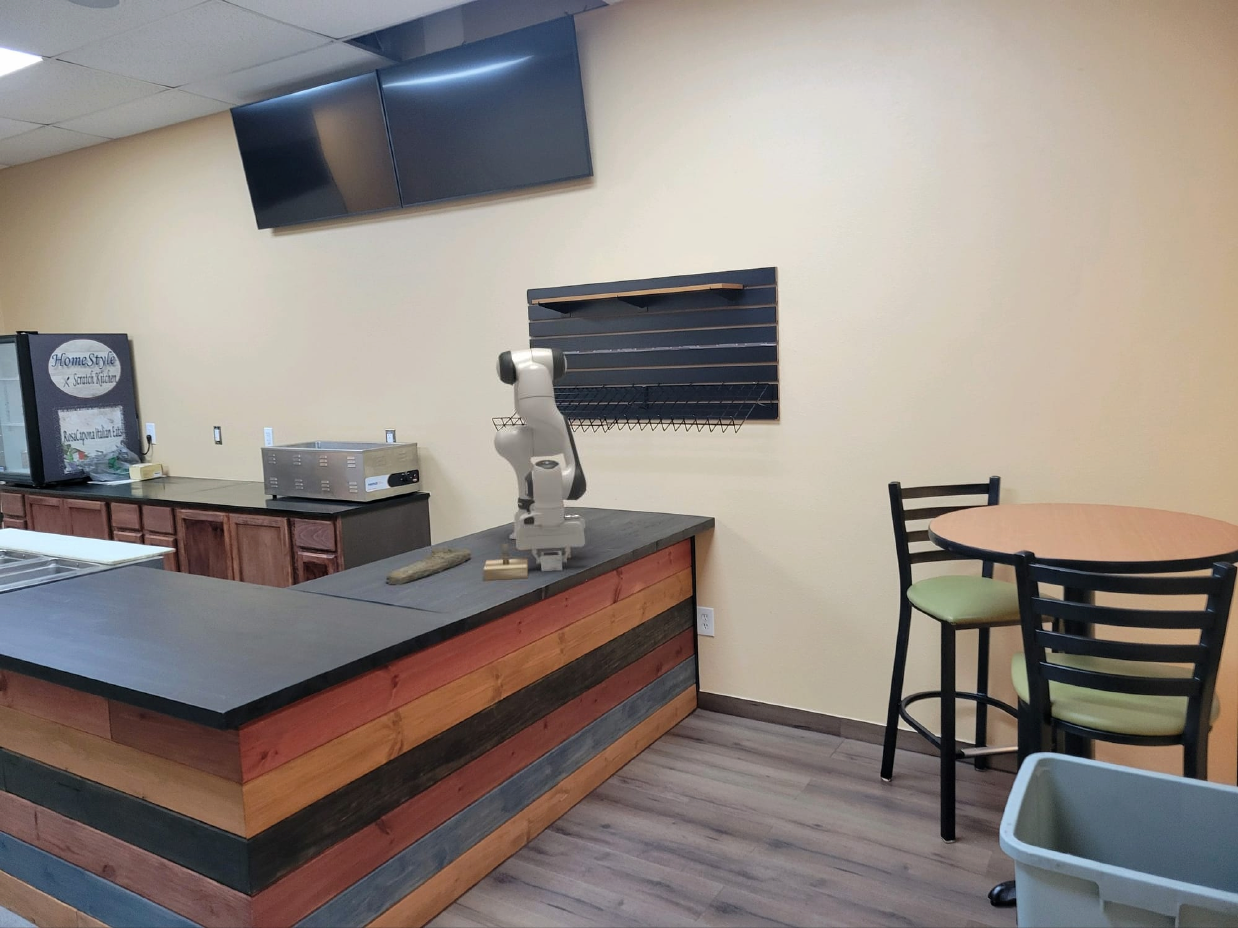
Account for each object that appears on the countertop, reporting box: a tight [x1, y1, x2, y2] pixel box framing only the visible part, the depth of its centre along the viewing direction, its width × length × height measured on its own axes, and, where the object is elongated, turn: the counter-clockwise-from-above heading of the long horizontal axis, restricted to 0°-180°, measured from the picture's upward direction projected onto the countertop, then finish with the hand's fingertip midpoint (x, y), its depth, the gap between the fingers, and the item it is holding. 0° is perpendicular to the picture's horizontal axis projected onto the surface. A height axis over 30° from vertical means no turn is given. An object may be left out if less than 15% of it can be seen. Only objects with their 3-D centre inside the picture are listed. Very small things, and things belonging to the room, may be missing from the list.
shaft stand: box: [483, 543, 529, 581], centre depth 245 cm, size 12×12×8 cm
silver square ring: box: [540, 550, 563, 572], centre depth 250 cm, size 6×6×4 cm
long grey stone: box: [385, 546, 472, 585], centre depth 254 cm, size 35×5×10 cm
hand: (551, 562), depth 251 cm, fingers closed on silver square ring, 6 cm apart
